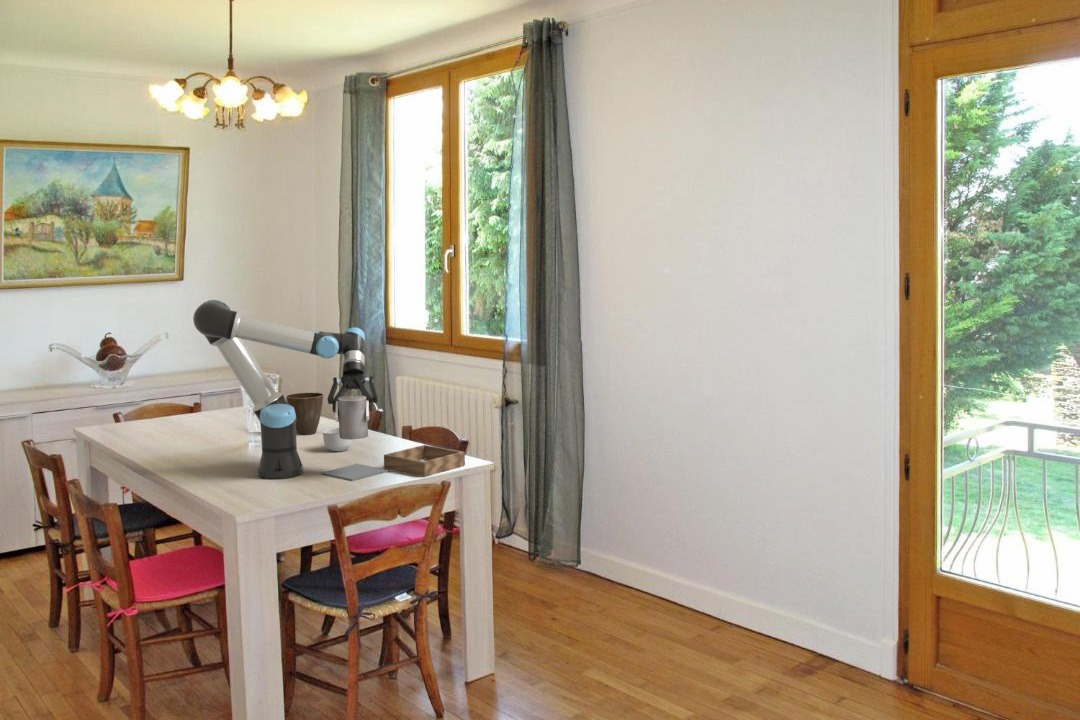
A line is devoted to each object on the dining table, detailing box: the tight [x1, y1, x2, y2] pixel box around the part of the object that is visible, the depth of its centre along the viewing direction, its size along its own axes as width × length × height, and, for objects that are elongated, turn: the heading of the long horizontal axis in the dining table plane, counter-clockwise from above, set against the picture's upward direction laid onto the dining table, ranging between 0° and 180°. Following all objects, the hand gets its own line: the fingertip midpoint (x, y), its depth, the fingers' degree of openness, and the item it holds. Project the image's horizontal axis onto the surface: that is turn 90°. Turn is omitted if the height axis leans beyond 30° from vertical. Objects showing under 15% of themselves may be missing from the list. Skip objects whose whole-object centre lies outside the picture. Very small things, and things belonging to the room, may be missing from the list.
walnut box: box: [383, 444, 466, 478], centre depth 350 cm, size 20×20×5 cm
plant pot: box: [285, 392, 324, 436], centre depth 412 cm, size 15×15×16 cm
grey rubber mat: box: [321, 463, 389, 482], centre depth 344 cm, size 16×16×1 cm
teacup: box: [322, 427, 353, 452], centre depth 381 cm, size 14×11×8 cm
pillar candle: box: [338, 394, 369, 441], centre depth 341 cm, size 10×10×15 cm
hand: (352, 418), depth 338 cm, fingers closed on pillar candle, 10 cm apart
